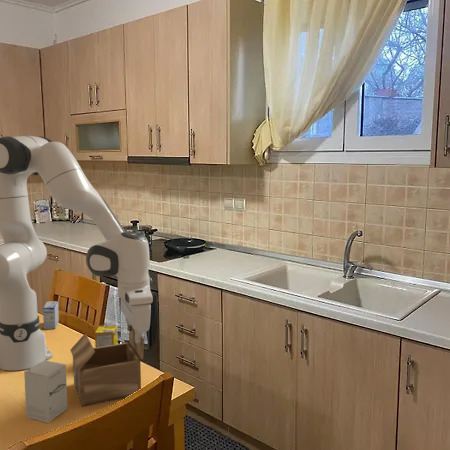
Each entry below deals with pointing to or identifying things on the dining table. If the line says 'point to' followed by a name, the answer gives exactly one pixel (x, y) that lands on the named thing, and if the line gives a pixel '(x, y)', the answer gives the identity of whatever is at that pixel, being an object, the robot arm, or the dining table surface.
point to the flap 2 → (137, 346)
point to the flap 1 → (82, 351)
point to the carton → (108, 375)
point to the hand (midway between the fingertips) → (134, 336)
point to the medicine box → (50, 315)
